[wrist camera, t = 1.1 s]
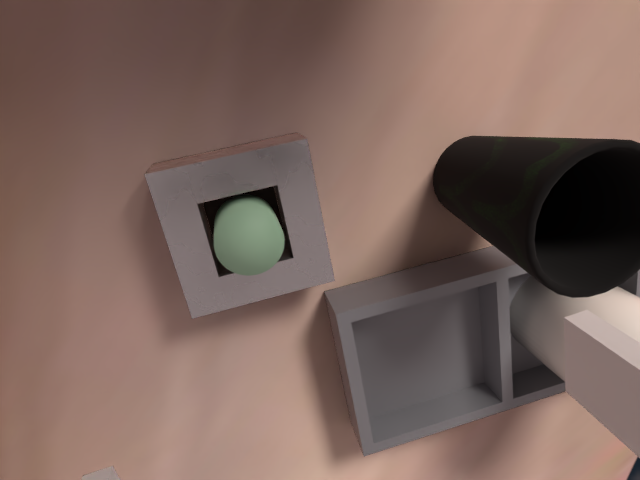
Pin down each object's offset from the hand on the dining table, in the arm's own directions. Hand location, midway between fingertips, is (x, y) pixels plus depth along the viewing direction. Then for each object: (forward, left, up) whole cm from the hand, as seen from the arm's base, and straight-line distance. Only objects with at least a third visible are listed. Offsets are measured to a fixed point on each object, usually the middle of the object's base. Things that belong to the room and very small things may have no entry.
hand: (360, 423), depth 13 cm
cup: (0, +14, -19) cm, 24 cm away
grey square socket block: (-1, -2, -19) cm, 19 cm away
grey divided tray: (+12, +14, -19) cm, 26 cm away
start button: (-1, -2, -17) cm, 17 cm away
